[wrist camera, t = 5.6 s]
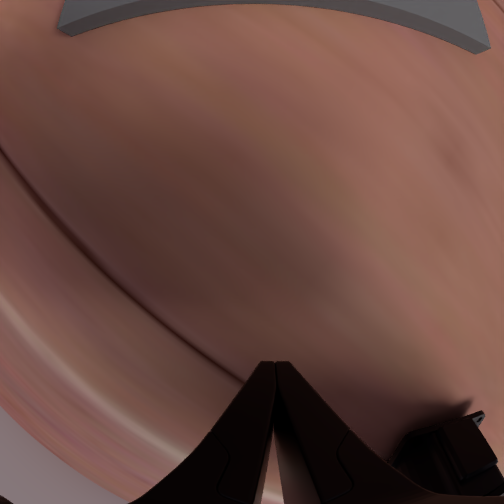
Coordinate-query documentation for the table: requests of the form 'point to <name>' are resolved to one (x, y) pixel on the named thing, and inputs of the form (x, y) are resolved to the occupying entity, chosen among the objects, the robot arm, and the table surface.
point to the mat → (364, 3)
